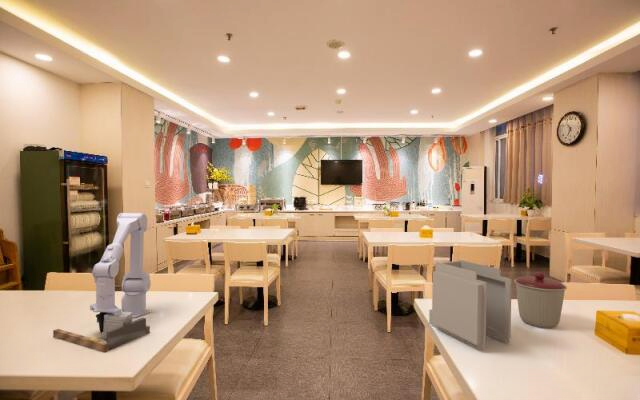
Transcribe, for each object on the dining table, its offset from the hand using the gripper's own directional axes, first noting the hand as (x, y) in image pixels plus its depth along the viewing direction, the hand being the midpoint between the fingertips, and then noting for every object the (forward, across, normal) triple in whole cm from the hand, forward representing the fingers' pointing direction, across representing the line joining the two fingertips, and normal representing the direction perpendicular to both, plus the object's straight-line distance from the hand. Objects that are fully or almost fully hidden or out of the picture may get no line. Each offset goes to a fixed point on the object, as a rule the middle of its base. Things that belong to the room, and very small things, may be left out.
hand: (105, 332), depth 121 cm
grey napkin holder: (+1, +120, +57) cm, 133 cm away
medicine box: (+1, +5, +1) cm, 5 cm away
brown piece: (+2, -2, 0) cm, 3 cm away
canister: (+1, +147, +82) cm, 169 cm away
